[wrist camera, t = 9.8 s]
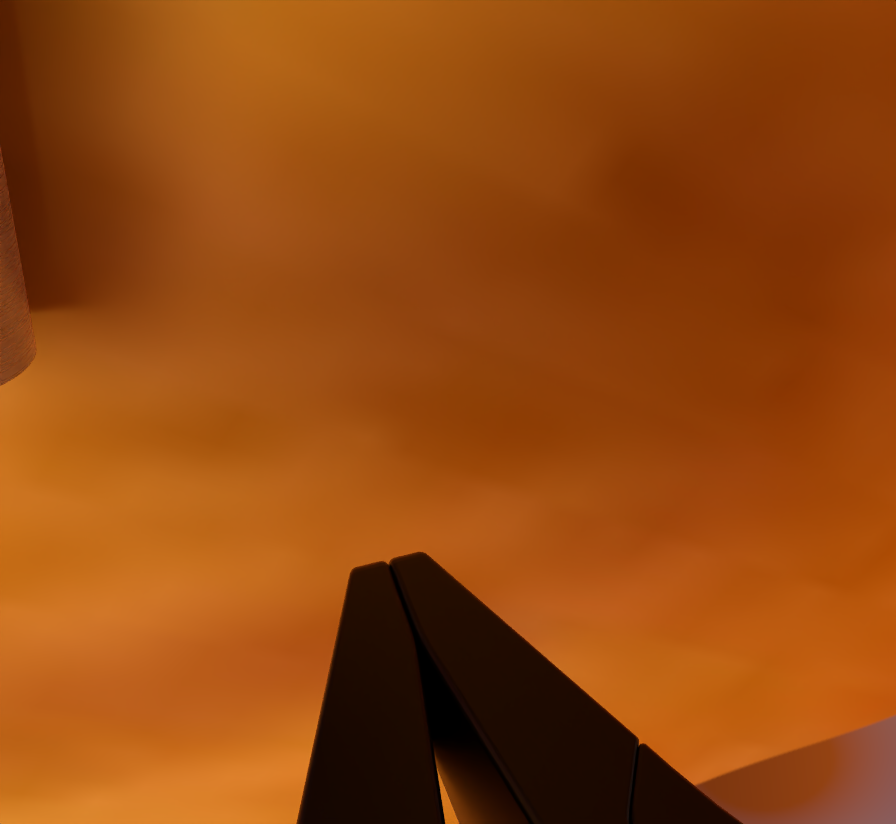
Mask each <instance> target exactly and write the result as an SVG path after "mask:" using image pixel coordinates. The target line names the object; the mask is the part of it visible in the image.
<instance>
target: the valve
mask: <svg viewBox="0 0 896 824" xmlns="http://www.w3.org/2000/svg"><path fill="white" fill-rule="evenodd" d="M35 354H36V345H35V339H34V334H33V328H32V322H31V316H30V311H29V305H28V299H27V294H26V288H25V282H24V277H23V271H22V265H21V260H20V254H19V248H18V243H17V237H16V231H15V226H14V220H13V214H12V209H11V203H10V197H9V191H8V186H7V180H6V174H5V169H4V163H3V157H2V152H1V146H0V386H1V385H3V384H5V383H7V382H8V381H10V380H12V379H14V378H15V377H16V376H18V375H19V374H21V373H22V372H23V371H24V370H25V369H26V368H27V367H28V366H29V365H30V364H31V362H32V361H33V359H34V357H35Z"/></svg>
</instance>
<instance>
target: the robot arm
mask: <svg viewBox="0 0 896 824" xmlns="http://www.w3.org/2000/svg"><path fill="white" fill-rule="evenodd" d="M638 746H639V747H638ZM436 766H437V767H436ZM437 769H438V771H439V774H440V776H441V779H442V781H443V784H444V786H445V789H446V791H447V794H448V796H449V799H450V801H451V804H452V806H453V809H454V811H455V814H456V816H457V819H458V821H459V824H743V823H742V822H740V821H739V820H737V819H736V818H735V817H733V816H732V815H731V814H729V813H728V812H727V811H725V810H724V809H722V808H721V807H720V806H719V805H717V804H716V803H715V802H714V801H712V800H711V799H710V798H709V797H708V796H706V795H705V794H704V793H703V792H701V791H700V790H699V789H698V788H697V787H695V786H694V785H693V784H692V783H691V782H689V781H688V780H687V779H686V778H684V777H683V776H682V775H681V774H680V773H678V772H677V771H676V770H675V769H673V768H672V767H671V766H670V765H669V764H668V763H667V762H666V761H664V760H663V759H662V758H661V757H660V756H659V755H658V754H656V753H655V752H654V751H653V750H652V749H651V748H650V747H648V746H647V745H646V744H644V743H642V744H640V745H639V739H638V738H637V737H636V736H635V735H634V734H633V733H632V732H631V731H630V730H628V729H627V728H626V727H625V726H624V725H623V724H622V723H620V722H619V721H618V720H617V719H616V718H615V717H614V716H612V715H611V714H610V713H609V712H608V711H607V710H605V709H604V708H603V707H602V706H601V705H600V704H599V703H597V702H596V701H595V700H594V699H593V698H592V697H591V696H589V695H588V694H587V693H586V692H585V691H584V690H582V689H581V688H580V687H579V686H578V685H577V684H576V683H574V682H573V681H572V680H571V679H570V678H569V677H568V676H566V675H565V674H564V673H563V672H562V671H561V670H559V669H558V668H557V667H556V666H555V665H554V664H553V663H551V662H550V661H549V660H548V659H547V658H546V657H545V656H543V655H542V654H541V653H540V652H539V651H538V650H536V649H535V648H534V647H533V646H532V645H531V644H530V643H528V642H527V641H526V640H525V639H524V638H523V637H522V636H520V635H519V634H518V633H517V632H516V631H515V630H513V629H512V628H511V627H510V626H509V625H508V624H507V623H505V622H504V621H503V620H502V619H501V618H500V617H499V616H497V615H496V614H495V613H494V612H493V611H492V610H491V609H489V608H488V607H487V606H486V605H485V604H484V603H482V602H481V601H480V600H479V599H478V598H477V597H476V596H474V595H473V594H472V593H471V592H470V591H469V590H468V589H466V588H465V587H464V586H463V585H462V584H461V583H459V582H458V581H457V580H456V579H455V578H454V577H453V576H451V575H450V574H449V573H448V572H447V571H446V570H445V569H443V568H442V567H441V566H440V565H439V564H438V563H436V562H435V561H434V560H433V559H432V558H431V557H430V556H428V555H427V554H426V553H423V552H416V553H412V554H408V555H404V556H400V557H396V558H393V559H391V560H390V562H389V565H388V564H387V563H386V562H384V561H379V562H375V563H371V564H367V565H363V566H359V567H355V568H354V569H352V571H351V573H350V576H349V580H348V585H347V589H346V594H345V599H344V603H343V608H342V613H341V618H340V622H339V627H338V632H337V636H336V641H335V646H334V650H333V655H332V660H331V664H330V669H329V674H328V679H327V683H326V688H325V693H324V697H323V702H322V707H321V711H320V716H319V721H318V725H317V730H316V735H315V739H314V744H313V749H312V754H311V758H310V763H309V768H308V772H307V777H306V782H305V786H304V791H303V796H302V800H301V805H300V810H299V815H298V819H297V824H445V819H444V813H443V806H442V800H441V793H440V786H439V780H438V773H437Z"/></svg>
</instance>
